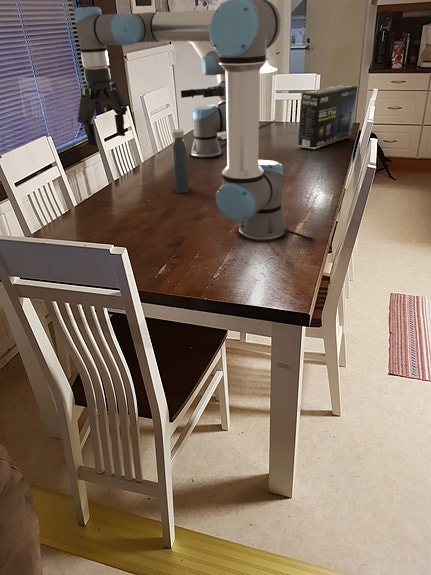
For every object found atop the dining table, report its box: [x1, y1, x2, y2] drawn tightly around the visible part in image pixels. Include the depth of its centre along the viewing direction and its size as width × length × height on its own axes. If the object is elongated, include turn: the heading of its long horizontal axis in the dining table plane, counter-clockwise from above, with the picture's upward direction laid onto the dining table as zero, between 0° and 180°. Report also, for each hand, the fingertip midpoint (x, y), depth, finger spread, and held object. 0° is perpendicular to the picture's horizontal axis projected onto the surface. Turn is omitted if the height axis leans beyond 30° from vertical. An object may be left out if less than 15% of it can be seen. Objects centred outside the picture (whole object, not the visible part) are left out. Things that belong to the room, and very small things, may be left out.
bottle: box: [171, 137, 190, 194], centre depth 181 cm, size 6×6×23 cm
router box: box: [297, 84, 358, 151], centre depth 238 cm, size 36×11×27 cm, turn 134°
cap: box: [171, 129, 185, 138], centre depth 176 cm, size 4×4×2 cm
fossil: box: [217, 131, 227, 140], centre depth 261 cm, size 18×11×15 cm
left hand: (192, 94), depth 184 cm, fingers open, 13 cm apart
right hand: (107, 140), depth 148 cm, fingers open, 13 cm apart
